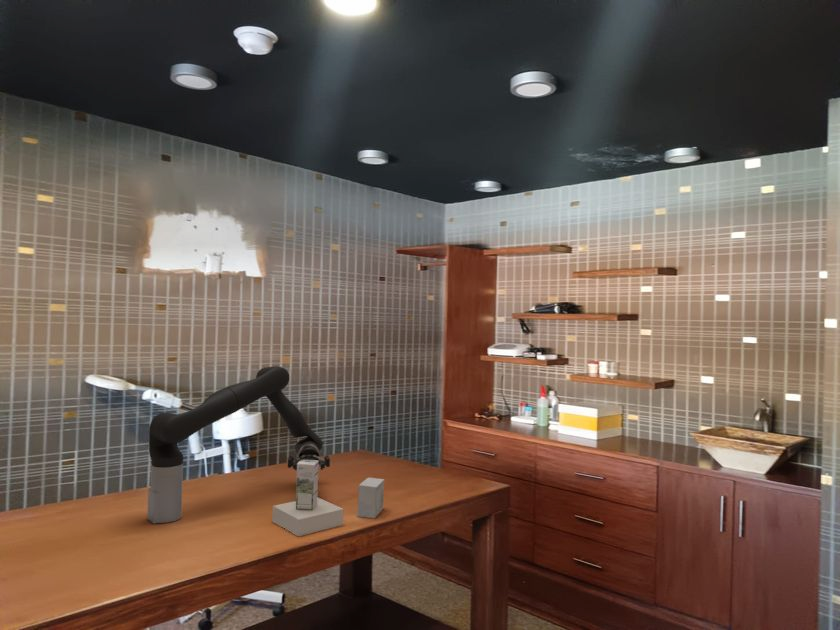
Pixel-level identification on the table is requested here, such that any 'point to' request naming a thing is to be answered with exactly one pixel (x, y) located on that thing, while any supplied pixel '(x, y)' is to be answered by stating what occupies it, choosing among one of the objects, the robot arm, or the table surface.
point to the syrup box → (307, 484)
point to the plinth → (307, 517)
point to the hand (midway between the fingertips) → (309, 466)
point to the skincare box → (370, 497)
